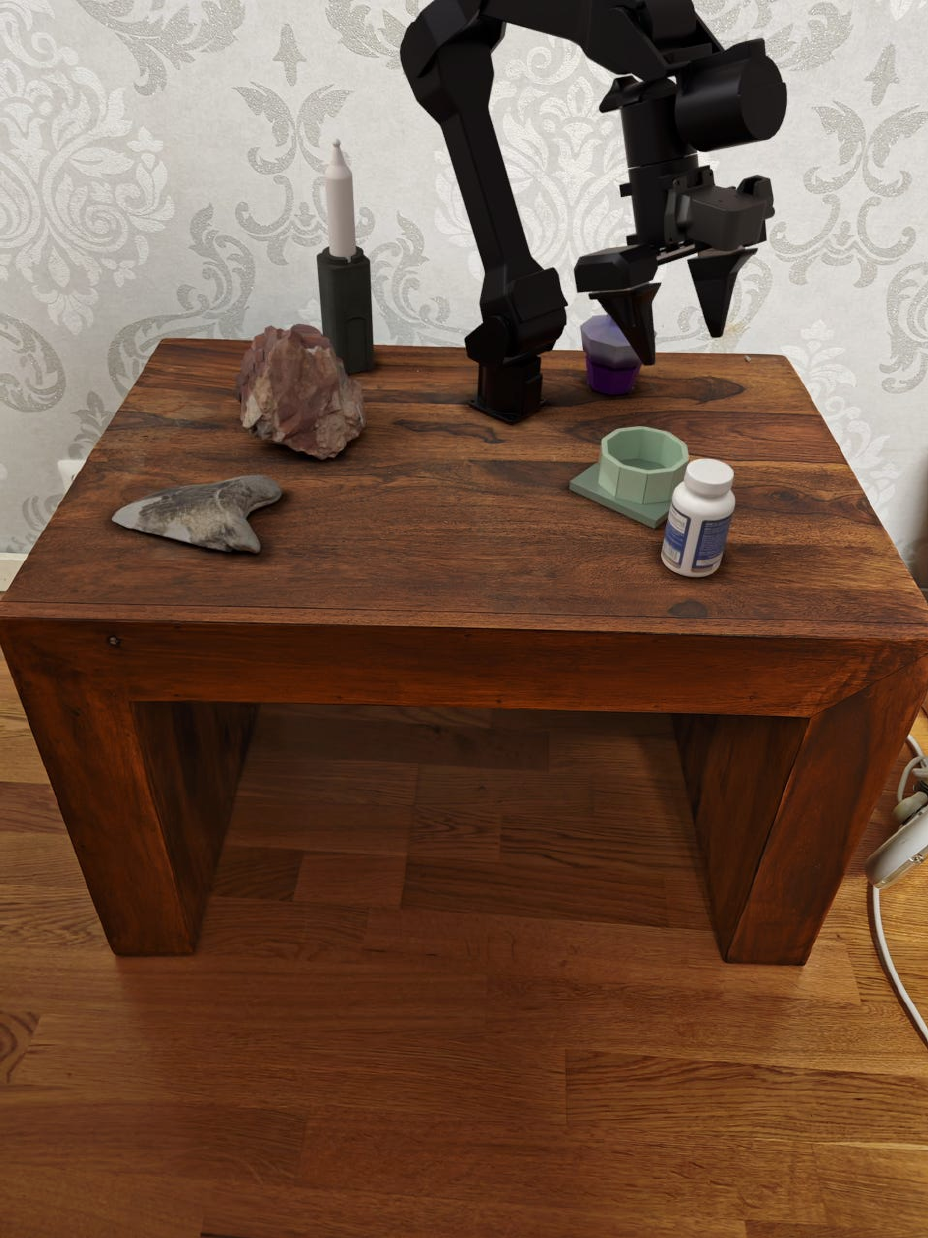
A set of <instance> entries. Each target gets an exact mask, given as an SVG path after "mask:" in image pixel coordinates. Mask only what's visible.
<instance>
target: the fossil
mask: <svg viewBox="0 0 928 1238" xmlns="http://www.w3.org/2000/svg"><path fill="white" fill-rule="evenodd" d="M282 495H283V488H282V486H281V485H280V484H279V483H278V482H277V481H275V480H274V479H273V478H271V477H268V476H266V475H262V474H256V475H255V474H252V475H241V476H237V477H232V478H228V479H225V480H222V481H217V482H211V483H203V484H188V485H180V486H175V487H169V488H165V489H163V490H159V491H157V492H153V493H151V494H149V495H146V496H143V497H141V498H138V499H136V500H134V501H132V502H130V503H128V504H127V505H125V506H123V507H121V508H120V509H118V510H117V511H115V513H114V515H113V516H112V518H111V520H112V522H113V523H116V524H118V525H120V526H122V527H124V528H126V529H129V530H135V531H140V532H142V533H143V532H144V533H149V534H154V535H158V536H161V537H164V538H169V539H173V540H176V541H180V542H186V543H189V544H192V545H195V546H199V547H204V548H208V549H212V550H217V551H222V552H225V553H227V552H228V553H231V552H233V550H235V551H246V552H247V551H248V552H251V553H253V554H258V553H260V551H261V543H260V540H259V538H258V536H257V535H256V533H255V531H254V530H253V528H252V527H251V525H250V523H249V522H248V520H247V517H248V516H249V515H250V513H251V512H253V511H255V510H257V509H259V508H261V507H265V506H269V505H271V504H274V503H276V502H277V501H278V500H280V499H281V496H282Z"/></svg>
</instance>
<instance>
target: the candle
mask: <svg viewBox="0 0 928 1238" xmlns="http://www.w3.org/2000/svg"><path fill="white" fill-rule="evenodd" d="M331 144H332V151H331V156H330V161H329V163H328V165H327V168H326V169H325V171H324V175H323V177H324V192H325V207H326V219H327V235H328V246H326V247H325V248H323V249H322V251H321V252H319V253H318V254H317V255H316V267H317V282H318V293H319V294H318V295H319V306H320V318H321V330H322V331H321V333H322V334H323V336H324V337H326V338H328V339H329V340H330V342H331V343H332V345H333V346H334V347H333V348H334V351H335V354H336V357H339V358H341V359H342V360H343V363H344V368H345V373H346V374H347V376H349V375H352V374H357V373H362V372H365V371H366V372H369V371H372V370H374V369H375V367H376V366H375V345H374V343H375V342H374V319H373V318H374V317H373V296H372V272H371V259H369V257H368V256H367V255H365V251H364V249H363V248H362V247H360V246H358V245H357V241H356V224H355V223H356V221H355V219H356V218H355V203H354V184H353V183H354V182H353V173H352V171H351V169H350V168H349V167H348V165H347V163H346V161H345V158H344V155H343V152H342V148H341V147H340V146H341V141H340V139H339V138H336V137H335V138H333V139H332V142H331Z"/></svg>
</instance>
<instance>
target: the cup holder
mask: <svg viewBox="0 0 928 1238" xmlns="http://www.w3.org/2000/svg"><path fill="white" fill-rule="evenodd" d="M598 455H599V456H598V460H597V461H596V462H595V463H593V464H592V465H590V467H588V468H586V469H585V470H584V471H582V472H581V473H580V474H578V475H577V476H576V477H574V478H572V479H571V480H570V481H569V487H568V490H570V491H572V492H574V493H576V494H578V495H580V496H583V497H584V498H587V499H588V500H591V501H593V502H596V503H597V504H600V505H602V506H604V507H606V508H609V509H610V510H613V511H615V512H617V513H620V514H621V515H623V516H625V517H627V518H630V519H632V520H634V521H636V522H638V523H641V524H642V525H644V526H647V527H650V528H651V529H654V530H655V529H657V528H658V527H659V526H660V525H661V524H663V523H664V522H665V521H666V520H668V516H669V511H670V506H671V501H672V496H673V492H674V490H675V488H676V487H677V486H678V485H679V484H680V483H681V482H683V481H684V476H685V473H686V469H687V466H688V464H689V463H690V454H689V449H688V445H687V444H686V443H685V442H684V441H683V440H681V439H680V438H678V437H677V436H675V435H674V434H672V432H669V431H667V430H662V429H657V428H653V427H649V426H644V425H643V426H642V425H639V426H638V425H637V426H630V427H629V426H628V427H621V428H616V429H615V430H613V431H611V432H610V433H608V434H607V435H606V436H605V437H603V438H601V441H600V447H599V454H598Z"/></svg>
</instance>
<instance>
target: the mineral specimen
mask: <svg viewBox="0 0 928 1238" xmlns="http://www.w3.org/2000/svg"><path fill="white" fill-rule="evenodd" d="M333 347H334V346H333V345H332V343H331V342H330V340H329V339H328V338H326V337H324V336H323V333H322V331H320V330H319V329H318V328H317V327H315V326H314V325H310V324H304V323H296V324H293V325H292V326H291V327H289V329H286V330H284V329H283V328H281V327H280V328H277V327H275V326H273V325H269V326H266V327H264V331H263V332H262V333H259V334H257V335H254V337H253V339H252V342H251V346H250V348H249V349H248V350H246V352H245V353H244V355H243V356H242V362H241V365H240V372H239V373H237V374H236V375H235V376H236V377H235V400H236V401H237V402H238V403H239V404H240V417H239V418H240V421H242V427H243V428H245V429H246V430H247V431H248V433H249V435H250V436H252V438H257V439H258V440H260V441H263V442H265V443H268V444H276V445H285V446H287V447H288V448H289V449H291V450H293V451H295V452H297V453H298V452H304V453H305V454H307V455H309V456H311V455H312V456H313V457H315V458H317V459H319V460H322V461H323V460H326V459H327V458H332V459H334V458H336V457H337V456H338V455H339V453H340V452H341V451H343V450H344V449H345V447H346V446H347V443H349V442H350V441H352V440H355V439H356V438H358V437H359V435H360V434H361V431H362V430H363V429H364V428H365V427H366V425H367V412H366V410H365V407H364V403H365V397H364V395H363V392H364V389H363V384H362V383H361V382H360V381H358V380H355V379H350V378H349V375H347V374H346V373H345V368H344V363H343V360H342V359H341V358H339V357H336V354H335V351H334V348H333Z"/></svg>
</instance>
